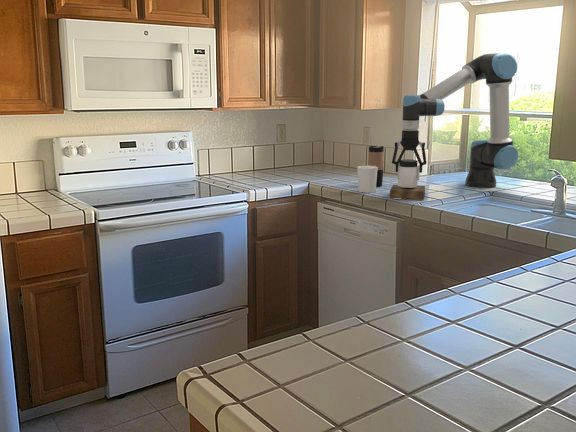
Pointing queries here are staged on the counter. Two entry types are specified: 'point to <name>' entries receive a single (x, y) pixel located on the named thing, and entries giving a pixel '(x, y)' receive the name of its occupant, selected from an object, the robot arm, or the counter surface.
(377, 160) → the travel mug
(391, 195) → the walnut plinth
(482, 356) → the counter surface
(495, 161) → the robot arm
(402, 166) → the jar
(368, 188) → the candle holder
